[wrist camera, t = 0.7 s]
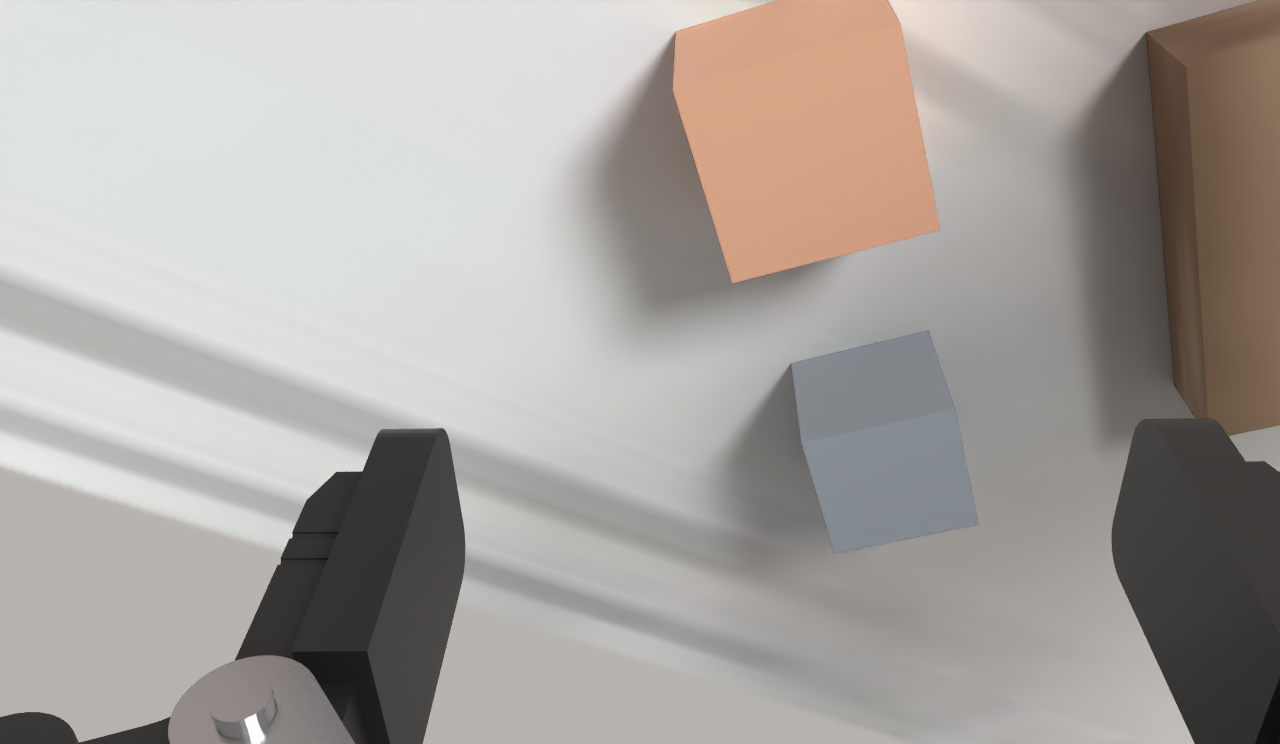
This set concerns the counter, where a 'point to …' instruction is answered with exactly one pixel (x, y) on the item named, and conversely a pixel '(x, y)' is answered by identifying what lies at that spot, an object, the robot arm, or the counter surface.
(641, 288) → the counter surface
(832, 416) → the slate block
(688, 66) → the terracotta block
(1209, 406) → the walnut plinth
